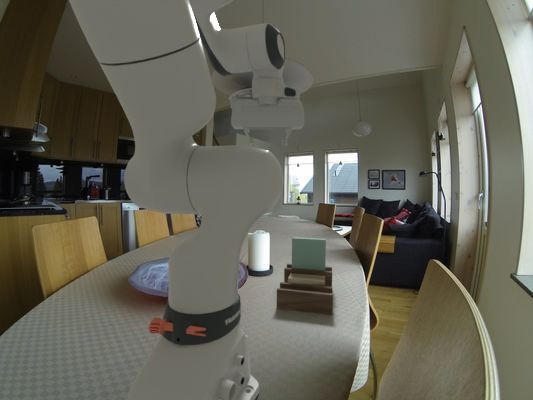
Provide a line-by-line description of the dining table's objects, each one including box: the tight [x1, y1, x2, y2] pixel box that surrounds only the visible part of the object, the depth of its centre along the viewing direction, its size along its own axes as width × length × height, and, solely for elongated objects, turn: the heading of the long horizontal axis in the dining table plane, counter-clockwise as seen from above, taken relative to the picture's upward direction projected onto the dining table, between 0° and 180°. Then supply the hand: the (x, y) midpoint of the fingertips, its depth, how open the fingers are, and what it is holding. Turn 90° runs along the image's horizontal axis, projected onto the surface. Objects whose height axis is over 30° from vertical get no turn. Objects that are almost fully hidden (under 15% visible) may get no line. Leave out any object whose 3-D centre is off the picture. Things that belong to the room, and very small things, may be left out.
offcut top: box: [288, 273, 325, 286], centre depth 73 cm, size 4×10×2 cm, turn 76°
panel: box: [291, 236, 327, 271], centre depth 78 cm, size 2×10×16 cm, turn 76°
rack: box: [276, 263, 334, 316], centre depth 73 cm, size 17×14×8 cm
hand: (267, 145), depth 72 cm, fingers open, 8 cm apart
